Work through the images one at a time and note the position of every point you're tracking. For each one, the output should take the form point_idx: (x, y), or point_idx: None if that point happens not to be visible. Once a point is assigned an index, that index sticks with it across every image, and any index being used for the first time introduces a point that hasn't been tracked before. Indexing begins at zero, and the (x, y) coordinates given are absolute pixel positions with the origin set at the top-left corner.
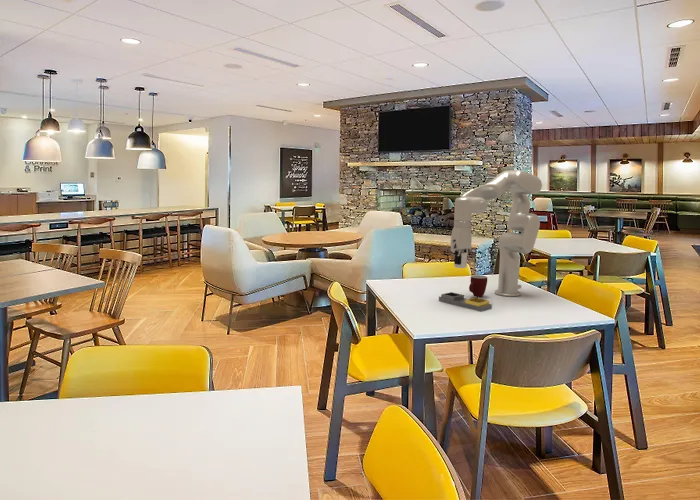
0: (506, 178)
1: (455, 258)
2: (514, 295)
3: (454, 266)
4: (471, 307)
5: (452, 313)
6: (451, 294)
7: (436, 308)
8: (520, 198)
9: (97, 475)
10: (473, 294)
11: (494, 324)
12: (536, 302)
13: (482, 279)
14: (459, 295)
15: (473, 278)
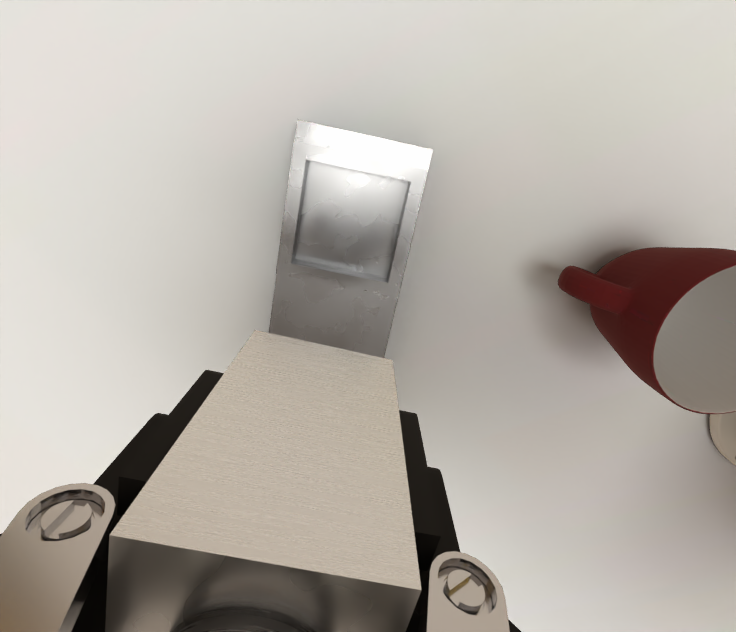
0: None
1: (113, 473)
2: (730, 461)
3: (251, 337)
4: None
5: (96, 349)
6: (408, 181)
7: (110, 219)
8: None
9: None
10: (603, 267)
11: None
12: (638, 567)
13: (659, 392)
14: (359, 277)
15: (658, 314)
